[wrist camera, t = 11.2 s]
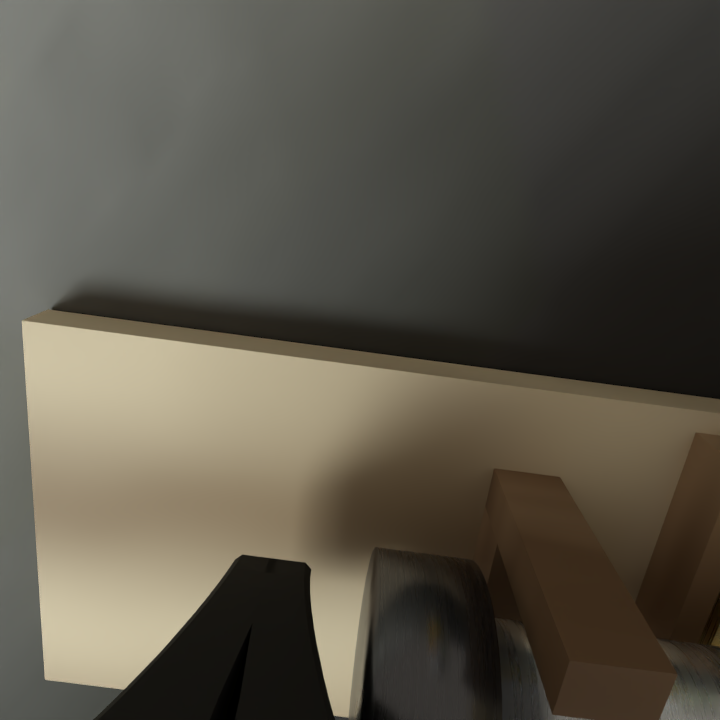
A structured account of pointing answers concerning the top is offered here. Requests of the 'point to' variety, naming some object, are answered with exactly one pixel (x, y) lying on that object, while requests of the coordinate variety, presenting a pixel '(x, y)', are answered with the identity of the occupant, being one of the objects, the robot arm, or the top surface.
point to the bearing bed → (363, 498)
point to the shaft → (472, 651)
